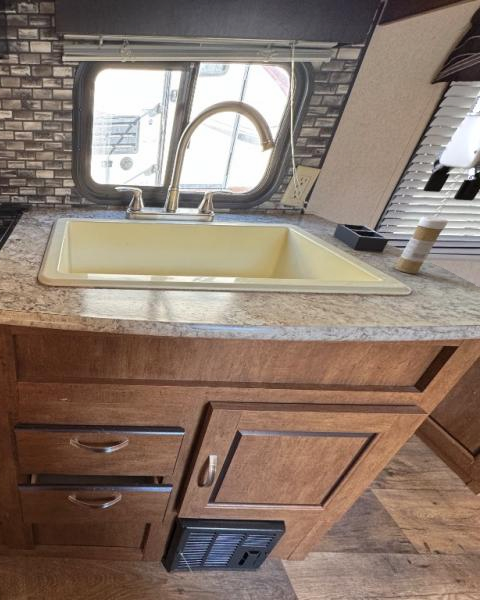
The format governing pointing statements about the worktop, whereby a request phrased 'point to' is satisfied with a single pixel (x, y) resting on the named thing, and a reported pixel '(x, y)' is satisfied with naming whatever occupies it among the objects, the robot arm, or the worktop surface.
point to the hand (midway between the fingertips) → (446, 195)
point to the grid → (360, 237)
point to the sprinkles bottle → (420, 244)
